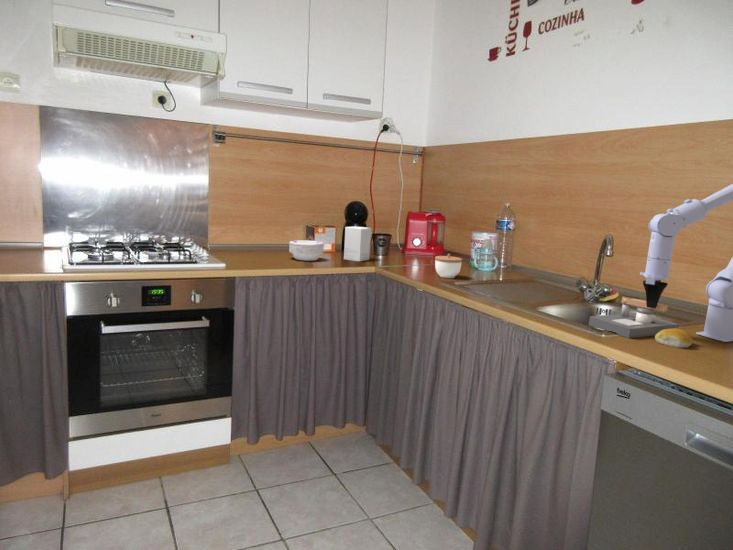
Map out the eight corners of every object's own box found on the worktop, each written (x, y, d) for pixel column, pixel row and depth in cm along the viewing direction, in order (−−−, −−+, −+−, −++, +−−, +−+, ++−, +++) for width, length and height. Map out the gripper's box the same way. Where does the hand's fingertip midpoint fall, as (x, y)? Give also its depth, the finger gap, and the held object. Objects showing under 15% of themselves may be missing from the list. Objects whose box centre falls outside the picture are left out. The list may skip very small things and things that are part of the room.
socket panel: (635, 320, 161) (638, 301, 160) (677, 332, 150) (680, 311, 149) (588, 325, 152) (591, 304, 151) (628, 338, 141) (632, 315, 140)
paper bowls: (286, 256, 245) (286, 239, 243) (319, 257, 249) (319, 240, 248) (291, 261, 230) (292, 243, 229) (326, 262, 235) (327, 244, 234)
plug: (640, 327, 153) (643, 307, 152) (653, 331, 150) (656, 310, 149) (630, 328, 151) (634, 307, 150) (643, 332, 148) (647, 311, 147)
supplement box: (370, 260, 250) (372, 227, 248) (359, 261, 243) (361, 228, 240) (353, 257, 255) (355, 225, 252) (343, 259, 247) (344, 226, 245)
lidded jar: (429, 276, 216) (431, 253, 214) (439, 273, 225) (441, 251, 223) (455, 280, 211) (457, 256, 209) (463, 277, 220) (466, 254, 219)
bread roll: (694, 344, 140) (697, 329, 139) (686, 351, 133) (689, 335, 133) (659, 336, 145) (661, 322, 145) (650, 342, 139) (653, 327, 138)
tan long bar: (620, 302, 155) (620, 297, 155) (624, 301, 157) (625, 296, 156) (663, 311, 146) (664, 306, 146) (667, 310, 148) (668, 305, 147)
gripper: (648, 254, 154) (641, 301, 156) (636, 258, 143) (629, 308, 145) (676, 258, 149) (668, 306, 152) (666, 262, 138) (658, 313, 141)
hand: (651, 307), depth 148 cm, fingers closed, pressing on tan long bar
